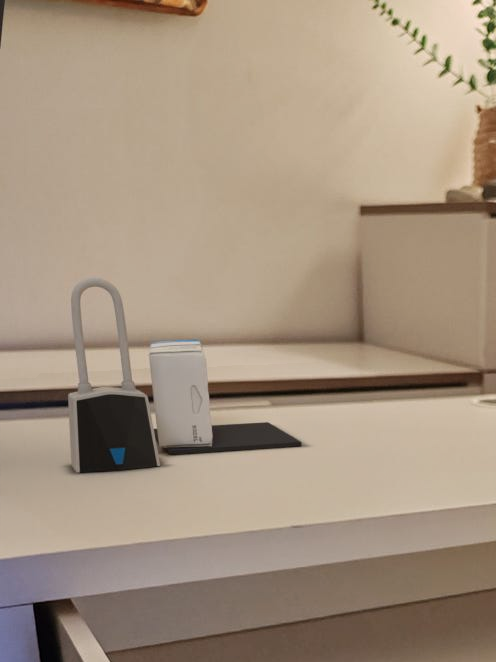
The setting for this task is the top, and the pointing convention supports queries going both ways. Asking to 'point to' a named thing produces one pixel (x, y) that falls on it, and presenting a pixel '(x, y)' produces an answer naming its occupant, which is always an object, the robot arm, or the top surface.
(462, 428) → the top surface
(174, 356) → the ink box
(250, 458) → the top surface
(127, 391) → the padlock
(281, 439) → the mat
